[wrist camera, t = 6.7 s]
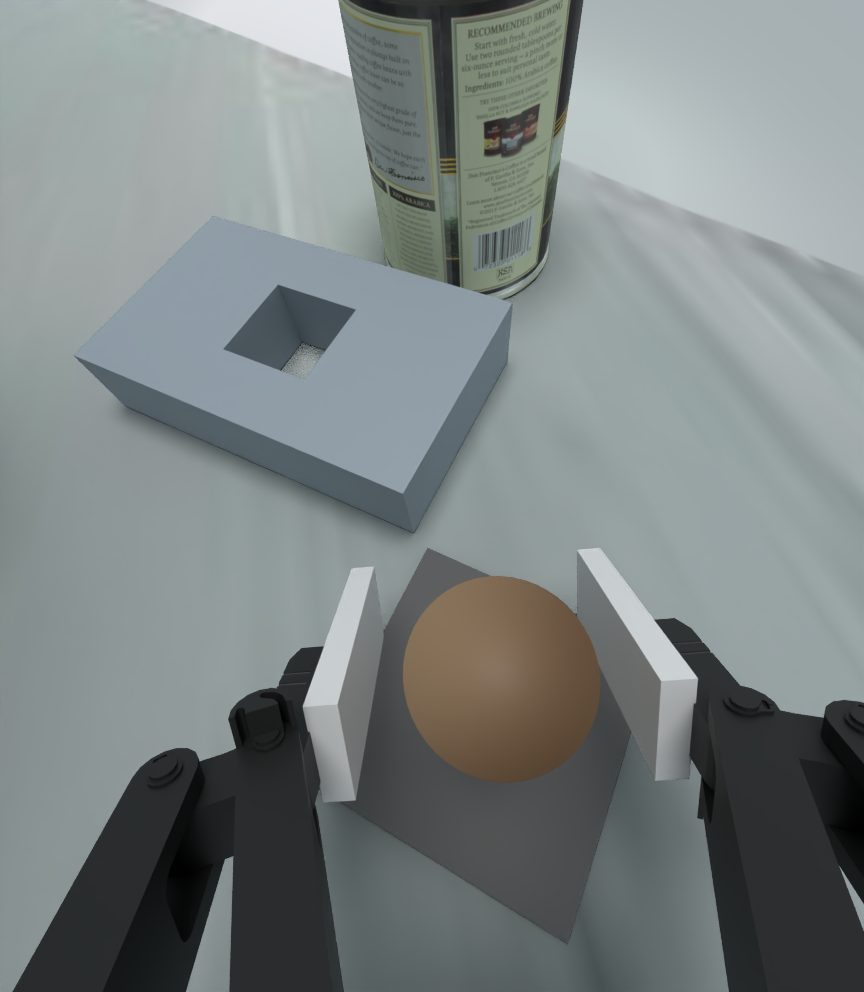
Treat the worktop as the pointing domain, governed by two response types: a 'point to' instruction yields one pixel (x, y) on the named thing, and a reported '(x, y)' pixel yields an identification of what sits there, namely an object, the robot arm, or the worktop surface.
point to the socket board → (332, 381)
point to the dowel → (501, 679)
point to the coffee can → (464, 131)
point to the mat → (486, 787)
